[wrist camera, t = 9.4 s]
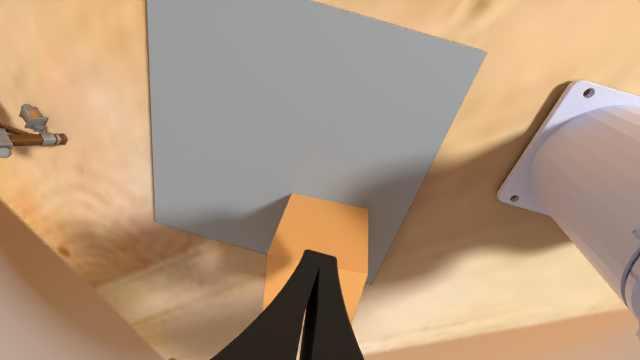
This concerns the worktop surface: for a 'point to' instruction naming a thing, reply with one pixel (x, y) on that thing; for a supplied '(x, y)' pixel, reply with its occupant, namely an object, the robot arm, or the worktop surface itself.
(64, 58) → the worktop surface
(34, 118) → the wooden post with brackets
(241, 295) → the worktop surface
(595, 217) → the robot arm
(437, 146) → the post board
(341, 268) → the orange block
